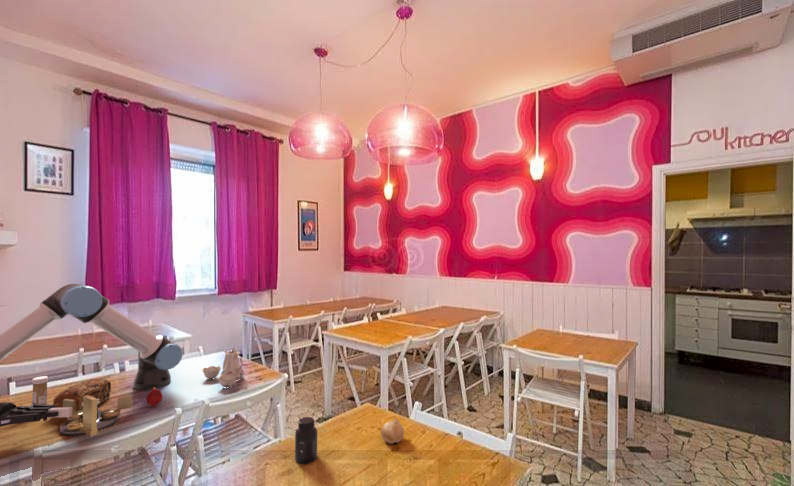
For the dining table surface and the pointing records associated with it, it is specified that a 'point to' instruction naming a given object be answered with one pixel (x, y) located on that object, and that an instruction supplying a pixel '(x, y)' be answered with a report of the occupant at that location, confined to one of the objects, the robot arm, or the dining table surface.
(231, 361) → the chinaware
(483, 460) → the dining table surface
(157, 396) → the onion
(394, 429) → the onion
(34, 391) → the sprinkles bottle
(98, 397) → the bread
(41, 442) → the dining table surface
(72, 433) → the tribrach plate
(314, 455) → the supplement bottle
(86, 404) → the tan upright wooden panel
